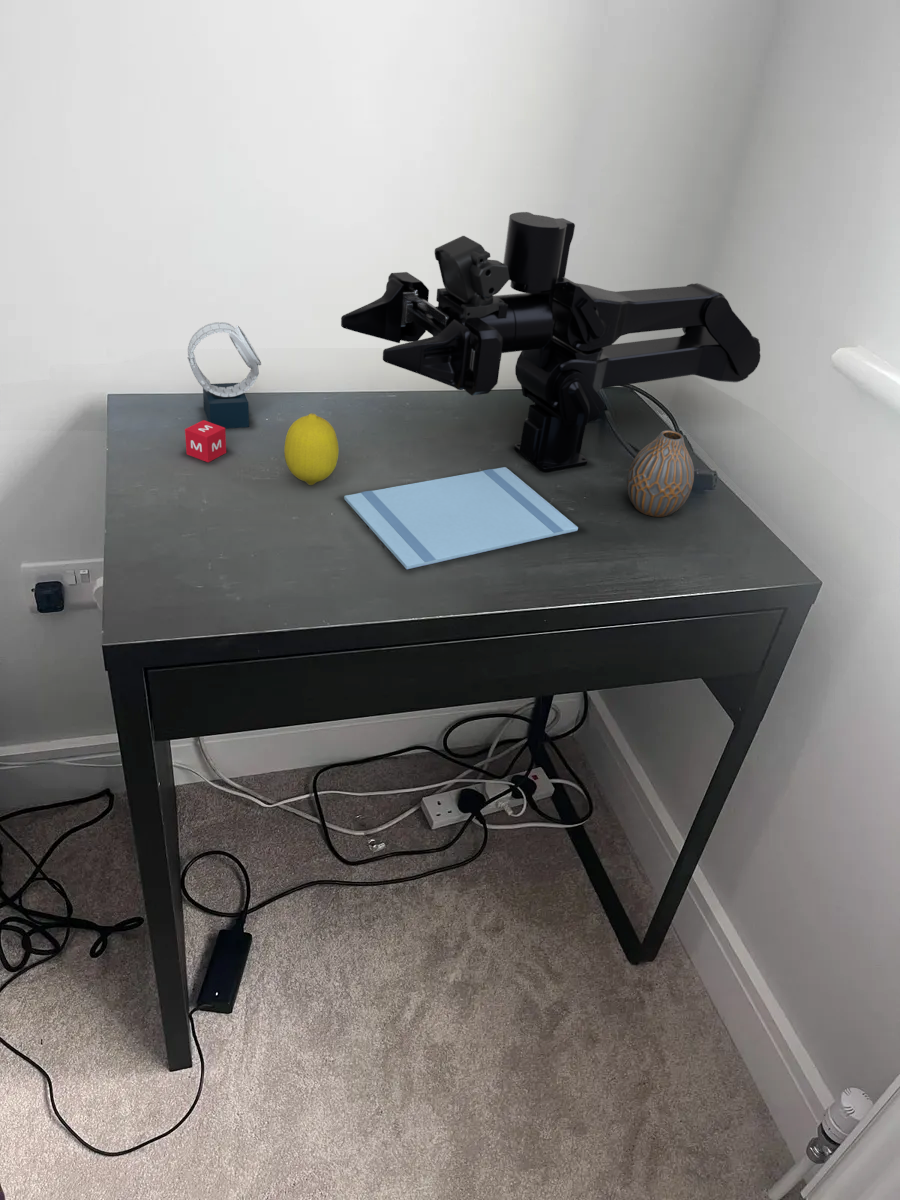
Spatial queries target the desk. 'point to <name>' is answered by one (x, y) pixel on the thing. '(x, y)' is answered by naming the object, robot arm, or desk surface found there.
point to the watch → (226, 399)
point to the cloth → (457, 516)
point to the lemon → (311, 449)
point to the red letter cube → (205, 441)
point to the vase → (661, 475)
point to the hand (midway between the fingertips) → (361, 338)
